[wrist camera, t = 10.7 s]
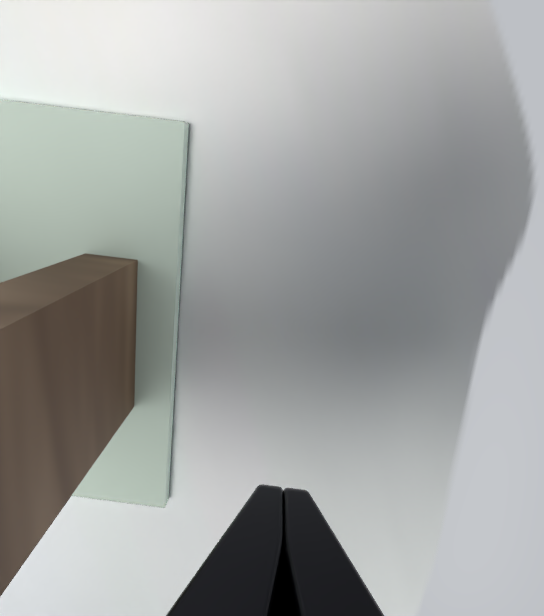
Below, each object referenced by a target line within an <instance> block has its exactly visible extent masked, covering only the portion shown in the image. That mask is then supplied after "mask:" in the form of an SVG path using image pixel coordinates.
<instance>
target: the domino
mask: <svg viewBox="0 0 544 616" xmlns="http://www.w3.org/2000/svg"><path fill="white" fill-rule="evenodd" d="M137 272H138V260H135V259H127V258H119V257H111V256H102V255H94V254H86V253H85V254H82V255H79V256H76V257H73V258H71V259H68V260H65V261H62V262H59V263H56V264H53V265H50V266H47V267H44V268H42V269H39V270H36V271H33V272H30V273H27V274H24V275H21V276H18V277H16V278H13V279H10V280H7V281H4V282H1V283H0V596H1V595H2V593H3V592H4V590H5V589H6V588H7V586H8V585H9V583H10V582H11V581H12V579H13V578H14V576H15V575H16V573H17V572H18V571H19V569H20V568H21V566H22V565H23V564H24V562H25V561H26V559H27V558H28V556H29V555H30V554H31V552H32V551H33V549H34V548H35V547H36V545H37V544H38V542H39V541H40V539H41V538H42V537H43V535H44V534H45V532H46V531H47V529H48V528H49V527H50V525H51V524H52V522H53V521H54V520H55V518H56V517H57V515H58V514H59V512H60V511H61V510H62V508H63V507H64V505H65V504H66V503H67V501H68V500H69V498H70V497H71V495H72V494H73V493H74V491H75V490H76V488H77V487H78V486H79V484H80V483H81V481H82V480H83V478H84V477H85V476H86V474H87V473H88V471H89V470H90V468H91V467H92V466H93V464H94V463H95V461H96V460H97V459H98V457H99V456H100V454H101V453H102V451H103V450H104V449H105V447H106V446H107V444H108V443H109V442H110V440H111V439H112V437H113V436H114V434H115V433H116V432H117V430H118V429H119V427H120V426H121V425H122V423H123V422H124V420H125V419H126V417H127V416H128V415H129V413H130V412H131V410H132V409H133V408H134V398H135V356H136V314H137Z"/></svg>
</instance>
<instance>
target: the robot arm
mask: <svg viewBox="0 0 544 616" xmlns="http://www.w3.org/2000/svg"><path fill="white" fill-rule="evenodd" d="M166 616H384V615H383V613H382V611H381V610H380V608H379V606H378V605H377V603H376V602H375V600H374V598H373V597H372V595H371V593H370V592H369V590H368V588H367V587H366V585H365V584H364V582H363V580H362V579H361V577H360V575H359V574H358V572H357V570H356V569H355V567H354V566H353V564H352V562H351V561H350V559H349V557H348V556H347V554H346V552H345V551H344V549H343V548H342V546H341V544H340V543H339V541H338V539H337V538H336V536H335V534H334V533H333V531H332V530H331V528H330V526H329V525H328V523H327V521H326V520H325V518H324V516H323V515H322V513H321V512H320V510H319V508H318V507H317V505H316V503H315V502H314V500H313V498H312V497H311V495H310V494H309V492H308V491H306V490H301V489H293V488H285V489H284V491H283V490H282V488H281V487H278V486H270V485H259V486H258V487H257V488H256V489H255V491H254V492H253V494H252V495H251V497H250V498H249V499H248V501H247V502H246V504H245V505H244V506H243V508H242V509H241V511H240V512H239V513H238V515H237V516H236V518H235V519H234V520H233V522H232V523H231V525H230V526H229V528H228V529H227V530H226V532H225V533H224V535H223V536H222V537H221V539H220V540H219V542H218V543H217V544H216V546H215V547H214V549H213V550H212V552H211V553H210V554H209V556H208V557H207V559H206V560H205V561H204V563H203V564H202V566H201V567H200V568H199V570H198V571H197V573H196V574H195V576H194V577H193V578H192V580H191V581H190V583H189V584H188V585H187V587H186V588H185V590H184V591H183V592H182V594H181V595H180V597H179V598H178V599H177V601H176V602H175V604H174V605H173V607H172V608H171V609H170V611H169V612H168V614H167V615H166Z"/></svg>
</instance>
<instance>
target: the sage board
mask: <svg viewBox="0 0 544 616" xmlns="http://www.w3.org/2000/svg"><path fill="white" fill-rule="evenodd" d="M188 132H189V124H188V123H186V122H184V121H175V120H167V119H159V118H150V117H142V116H134V115H125V114H117V113H109V112H100V111H92V110H84V109H75V108H67V107H59V106H50V105H42V104H34V103H25V102H17V101H9V100H0V283H1V282H4V281H7V280H10V279H13V278H16V277H18V276H21V275H24V274H27V273H30V272H33V271H36V270H39V269H42V268H44V267H47V266H50V265H53V264H56V263H59V262H62V261H65V260H68V259H71V258H73V257H76V256H79V255H82V254H85V253H86V254H94V255H102V256H111V257H119V258H127V259H135V260H138V272H137V314H136V356H135V398H134V408H133V409H132V410H131V412H130V413H129V415H128V416H127V417H126V419H125V420H124V422H123V423H122V425H121V426H120V427H119V429H118V430H117V432H116V433H115V434H114V436H113V437H112V439H111V440H110V442H109V443H108V444H107V446H106V447H105V449H104V450H103V451H102V453H101V454H100V456H99V457H98V459H97V460H96V461H95V463H94V464H93V466H92V467H91V468H90V470H89V471H88V473H87V474H86V476H85V477H84V478H83V480H82V481H81V483H80V484H79V486H78V487H77V488H76V490H75V491H74V493H73V494H72V495H71V496H76V497H84V498H92V499H99V500H107V501H115V502H122V503H130V504H138V505H145V506H153V507H161V508H165V506H166V504H167V501H168V498H169V482H170V463H171V445H172V426H173V408H174V390H175V371H176V353H177V334H178V316H179V297H180V279H181V261H182V242H183V224H184V205H185V187H186V168H187V150H188Z"/></svg>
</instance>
